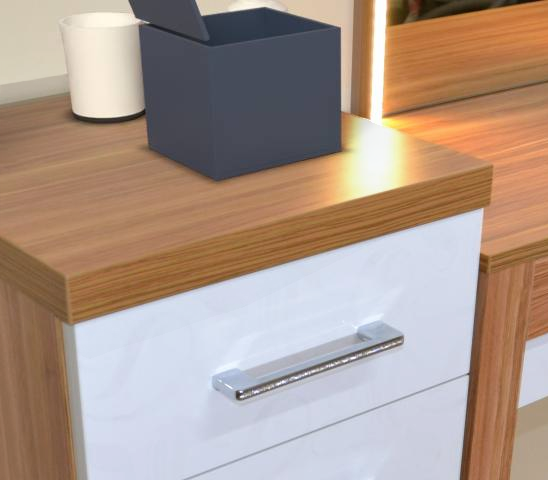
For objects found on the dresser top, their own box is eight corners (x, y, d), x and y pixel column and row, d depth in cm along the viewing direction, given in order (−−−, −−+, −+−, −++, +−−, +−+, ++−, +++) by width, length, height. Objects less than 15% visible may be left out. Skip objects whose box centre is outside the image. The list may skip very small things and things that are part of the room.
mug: (92, 129, 123) (82, 32, 119) (55, 111, 130) (44, 18, 125) (180, 111, 130) (173, 19, 125) (141, 95, 136) (133, 6, 131)
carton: (216, 181, 109) (209, 48, 103) (148, 147, 118) (138, 24, 112) (341, 151, 117) (341, 27, 112) (268, 122, 126) (265, 6, 121)
